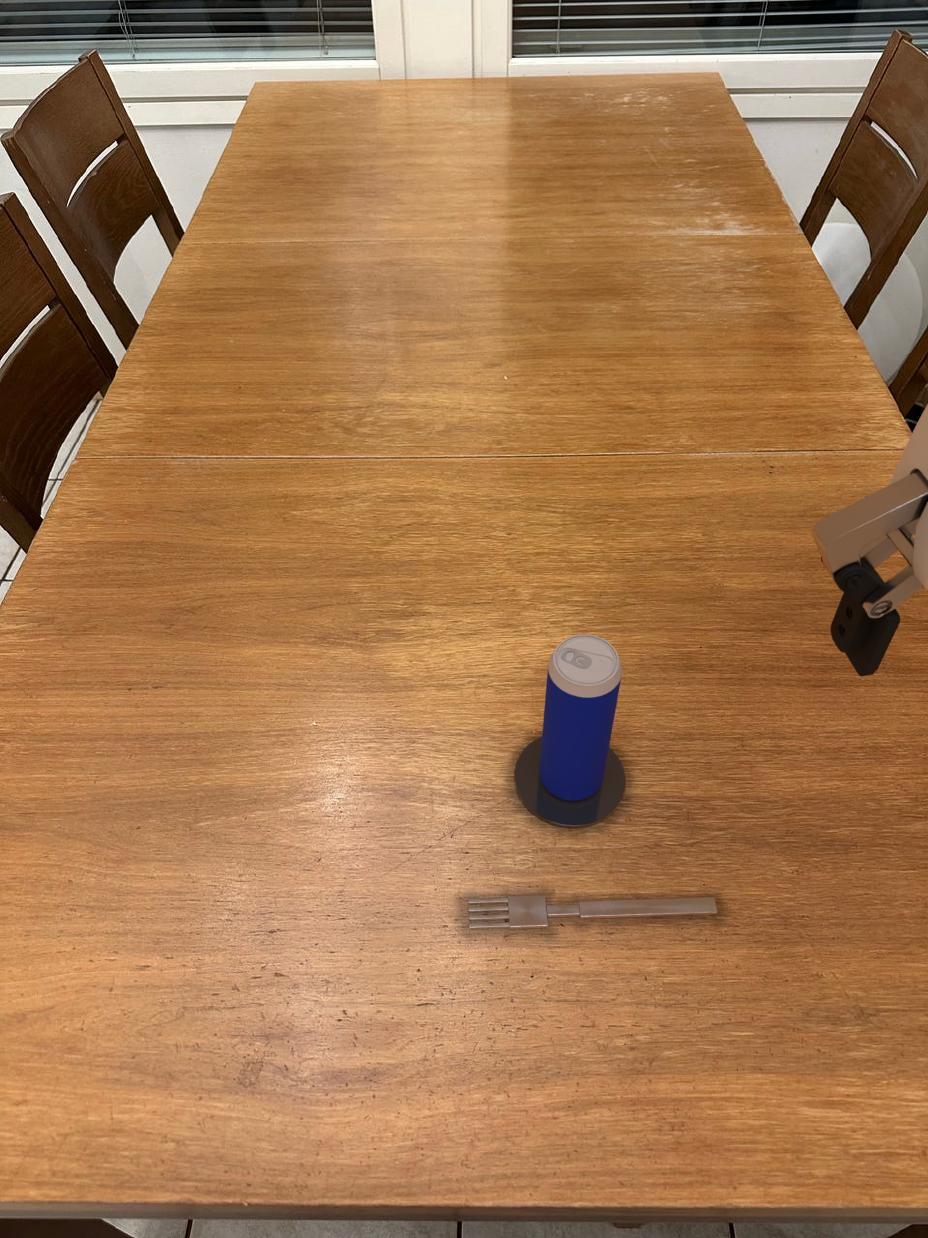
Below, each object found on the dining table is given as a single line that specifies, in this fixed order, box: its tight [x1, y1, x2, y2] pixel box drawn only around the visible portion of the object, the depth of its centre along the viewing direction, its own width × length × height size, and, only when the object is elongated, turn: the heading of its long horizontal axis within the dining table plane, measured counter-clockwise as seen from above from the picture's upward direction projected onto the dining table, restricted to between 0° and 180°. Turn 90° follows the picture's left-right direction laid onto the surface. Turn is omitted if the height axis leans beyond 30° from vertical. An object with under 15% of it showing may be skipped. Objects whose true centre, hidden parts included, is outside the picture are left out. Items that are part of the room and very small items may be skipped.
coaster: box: [513, 735, 627, 829], centre depth 77 cm, size 9×9×1 cm
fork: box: [467, 894, 719, 930], centre depth 69 cm, size 18×2×1 cm, turn 92°
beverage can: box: [539, 633, 623, 801], centre depth 71 cm, size 5×5×15 cm
